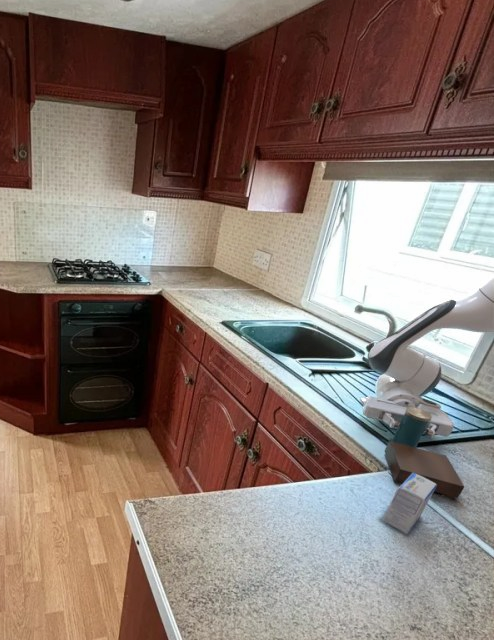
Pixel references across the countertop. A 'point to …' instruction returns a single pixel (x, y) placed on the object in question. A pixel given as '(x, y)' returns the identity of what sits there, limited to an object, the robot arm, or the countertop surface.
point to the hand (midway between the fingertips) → (412, 430)
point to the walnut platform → (423, 468)
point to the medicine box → (409, 502)
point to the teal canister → (412, 427)
